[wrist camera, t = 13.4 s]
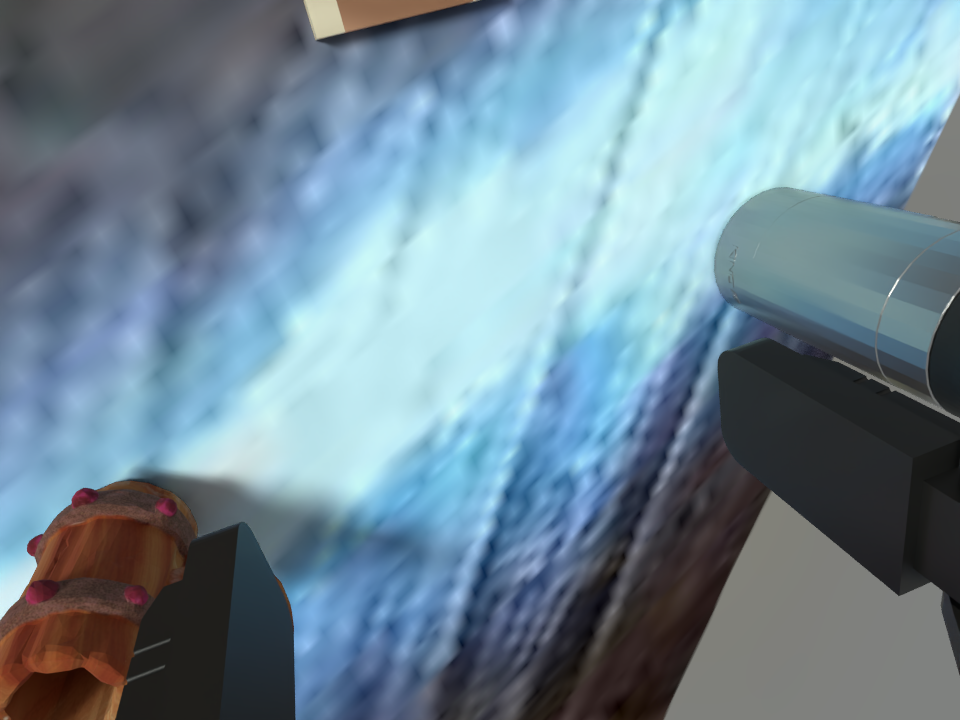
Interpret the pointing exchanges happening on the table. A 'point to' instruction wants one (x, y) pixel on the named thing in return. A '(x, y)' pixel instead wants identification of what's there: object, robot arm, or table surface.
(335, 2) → the beige flat rectangular frame
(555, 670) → the table surface
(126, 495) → the mug
